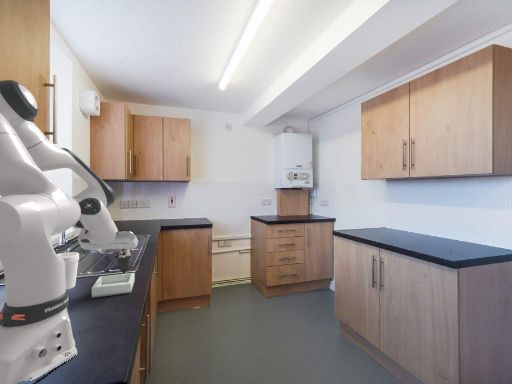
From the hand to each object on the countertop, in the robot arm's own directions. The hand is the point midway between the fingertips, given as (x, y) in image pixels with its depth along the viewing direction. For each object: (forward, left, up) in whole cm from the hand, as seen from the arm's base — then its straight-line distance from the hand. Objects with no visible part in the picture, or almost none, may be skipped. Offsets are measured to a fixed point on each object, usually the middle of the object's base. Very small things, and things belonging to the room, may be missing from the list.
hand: (115, 251), depth 109 cm
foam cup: (-5, +18, -14) cm, 23 cm away
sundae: (+6, 0, -14) cm, 15 cm away
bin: (-5, -3, -13) cm, 15 cm away
